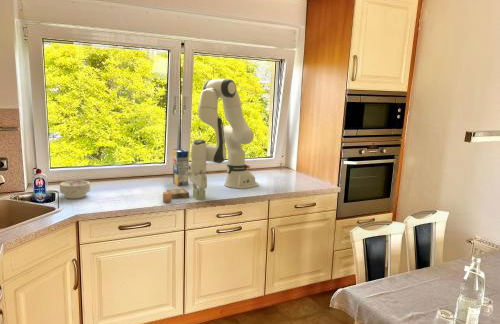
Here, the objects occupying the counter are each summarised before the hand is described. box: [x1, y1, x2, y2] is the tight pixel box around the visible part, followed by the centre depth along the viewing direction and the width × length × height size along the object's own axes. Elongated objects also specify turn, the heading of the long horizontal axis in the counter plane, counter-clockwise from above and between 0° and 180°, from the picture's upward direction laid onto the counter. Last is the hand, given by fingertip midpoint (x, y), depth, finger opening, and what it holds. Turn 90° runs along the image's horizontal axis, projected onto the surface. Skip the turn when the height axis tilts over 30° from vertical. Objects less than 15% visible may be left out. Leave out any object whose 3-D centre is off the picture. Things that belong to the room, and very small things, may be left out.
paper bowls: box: [59, 179, 91, 200], centre depth 209 cm, size 15×15×8 cm
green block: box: [192, 187, 206, 200], centre depth 217 cm, size 6×6×5 cm
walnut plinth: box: [166, 188, 190, 200], centre depth 220 cm, size 10×10×2 cm
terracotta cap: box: [162, 191, 172, 204], centre depth 207 cm, size 4×4×5 cm
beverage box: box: [172, 148, 190, 187], centre depth 245 cm, size 7×11×22 cm, turn 27°
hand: (197, 192), depth 217 cm, fingers open, 8 cm apart
